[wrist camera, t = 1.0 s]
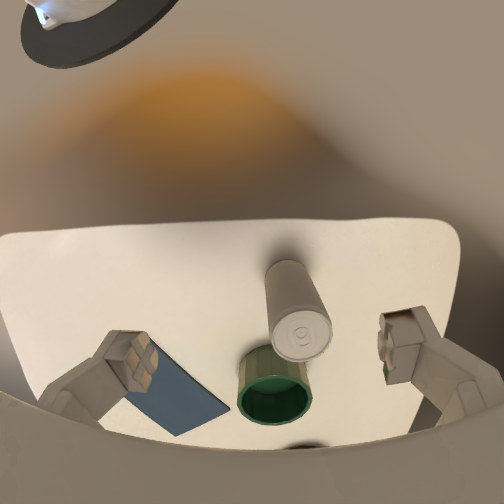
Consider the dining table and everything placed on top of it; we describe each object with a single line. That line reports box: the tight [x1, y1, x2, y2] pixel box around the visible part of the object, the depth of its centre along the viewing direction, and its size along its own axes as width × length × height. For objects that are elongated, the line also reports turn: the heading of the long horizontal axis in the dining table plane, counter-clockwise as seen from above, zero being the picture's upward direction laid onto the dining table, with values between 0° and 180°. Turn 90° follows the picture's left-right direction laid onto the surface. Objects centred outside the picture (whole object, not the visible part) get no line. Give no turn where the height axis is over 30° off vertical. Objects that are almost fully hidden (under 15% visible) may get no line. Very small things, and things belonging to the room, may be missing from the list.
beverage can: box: [265, 260, 333, 362], centre depth 27 cm, size 5×5×12 cm
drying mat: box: [124, 339, 230, 437], centre depth 37 cm, size 16×12×1 cm
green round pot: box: [237, 345, 313, 426], centre depth 33 cm, size 8×8×6 cm
